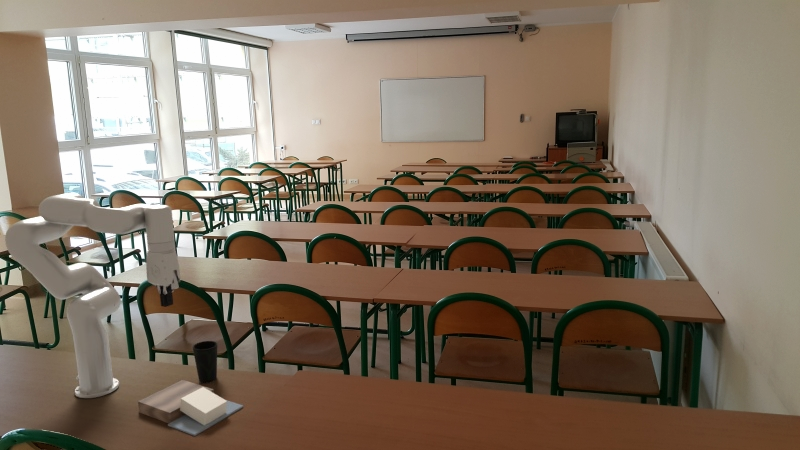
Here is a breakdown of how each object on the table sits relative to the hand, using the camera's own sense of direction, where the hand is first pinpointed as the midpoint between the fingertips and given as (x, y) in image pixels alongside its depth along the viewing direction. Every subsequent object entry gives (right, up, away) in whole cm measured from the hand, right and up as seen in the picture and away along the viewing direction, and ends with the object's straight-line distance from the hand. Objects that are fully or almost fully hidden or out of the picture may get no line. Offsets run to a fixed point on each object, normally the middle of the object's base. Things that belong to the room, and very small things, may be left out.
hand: (167, 305), depth 176 cm
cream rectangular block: (+14, -29, -9) cm, 34 cm away
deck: (+4, -30, -2) cm, 30 cm away
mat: (+15, -31, -8) cm, 35 cm away
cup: (+7, -27, +15) cm, 32 cm away
